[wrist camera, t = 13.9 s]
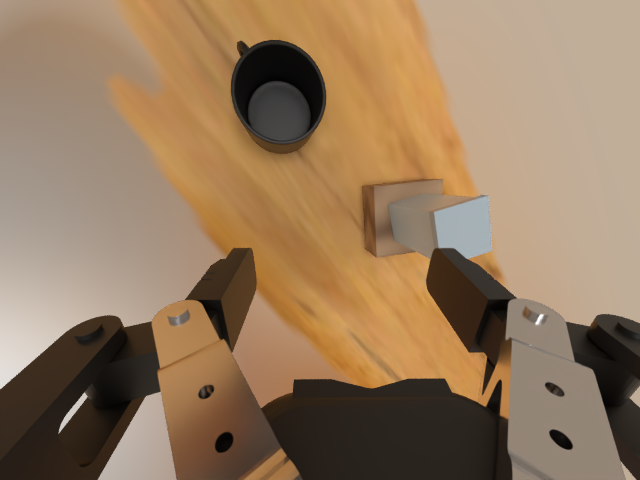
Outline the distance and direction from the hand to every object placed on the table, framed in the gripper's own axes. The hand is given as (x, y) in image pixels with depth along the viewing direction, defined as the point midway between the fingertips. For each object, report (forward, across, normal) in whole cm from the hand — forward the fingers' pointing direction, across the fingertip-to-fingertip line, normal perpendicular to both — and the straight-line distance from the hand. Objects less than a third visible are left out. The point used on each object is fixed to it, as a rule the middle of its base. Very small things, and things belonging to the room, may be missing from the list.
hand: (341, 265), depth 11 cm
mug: (+28, +7, -8) cm, 30 cm away
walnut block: (+28, -11, +7) cm, 31 cm away
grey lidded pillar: (+23, -12, +6) cm, 26 cm away
